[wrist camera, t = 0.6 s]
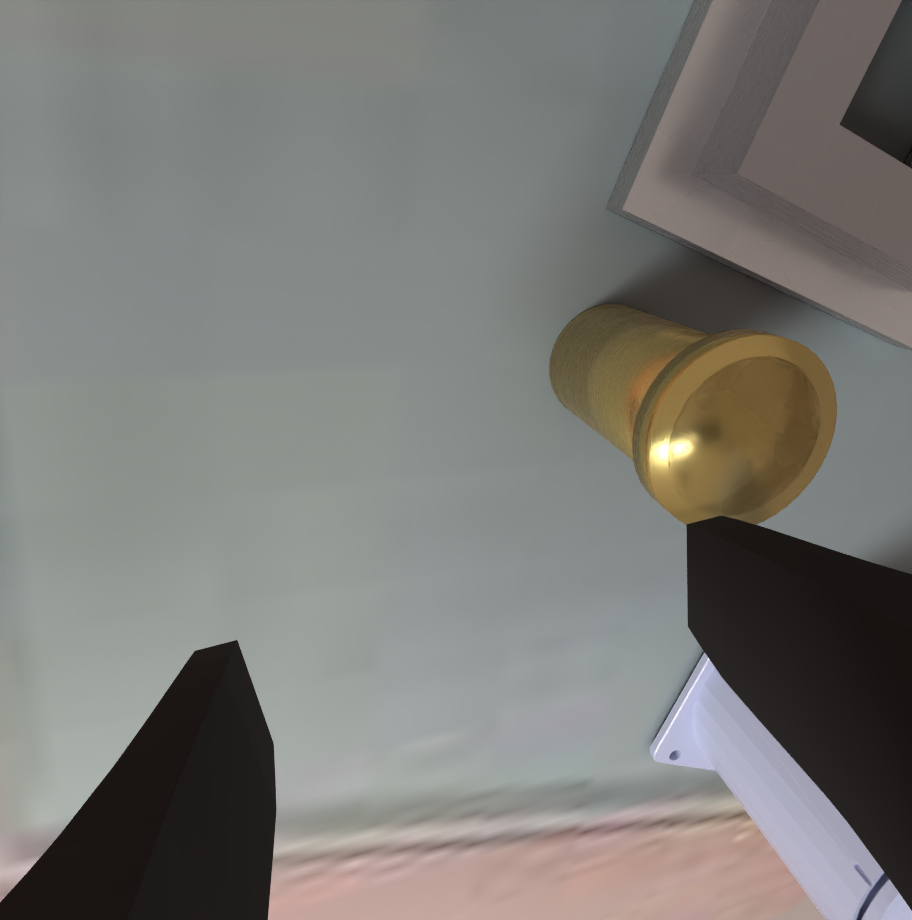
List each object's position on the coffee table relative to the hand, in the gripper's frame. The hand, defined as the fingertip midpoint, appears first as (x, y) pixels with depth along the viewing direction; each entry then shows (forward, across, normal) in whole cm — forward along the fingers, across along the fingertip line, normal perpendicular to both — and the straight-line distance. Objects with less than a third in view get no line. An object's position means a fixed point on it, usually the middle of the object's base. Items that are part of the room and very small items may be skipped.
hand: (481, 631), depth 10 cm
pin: (+10, -7, 0) cm, 12 cm away
